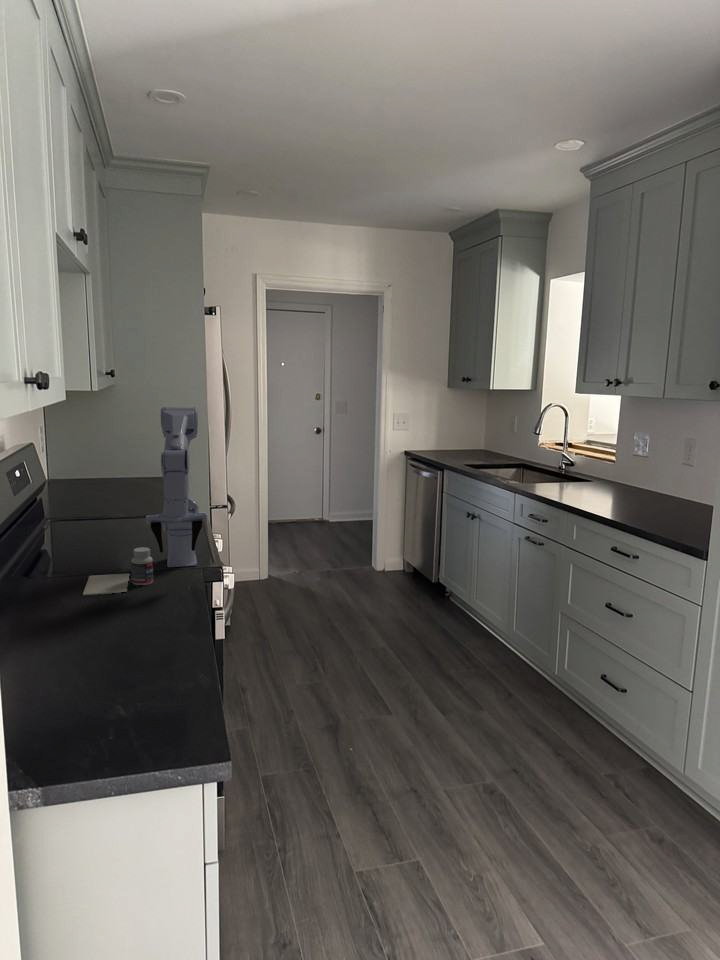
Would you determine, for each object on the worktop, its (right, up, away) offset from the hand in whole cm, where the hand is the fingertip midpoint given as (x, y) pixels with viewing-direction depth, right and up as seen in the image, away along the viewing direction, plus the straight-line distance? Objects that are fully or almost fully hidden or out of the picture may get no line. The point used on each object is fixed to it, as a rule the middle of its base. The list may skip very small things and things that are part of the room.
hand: (177, 550), depth 164 cm
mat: (-18, -9, +1) cm, 20 cm away
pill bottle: (-10, -9, +4) cm, 14 cm away
